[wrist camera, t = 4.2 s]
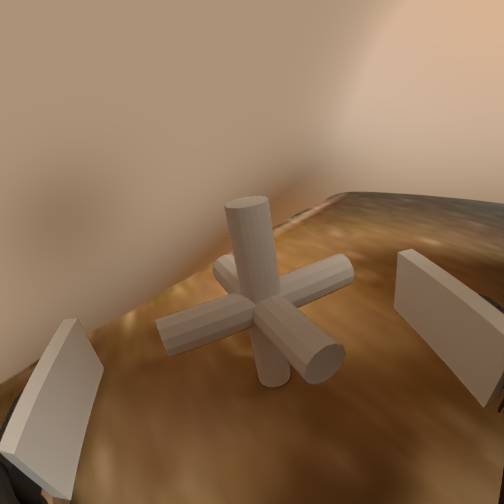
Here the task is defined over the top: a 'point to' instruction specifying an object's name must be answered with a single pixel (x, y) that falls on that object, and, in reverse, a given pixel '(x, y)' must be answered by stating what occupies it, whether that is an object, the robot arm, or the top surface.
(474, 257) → the top surface
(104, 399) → the top surface
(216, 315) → the grey toy jack
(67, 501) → the board
